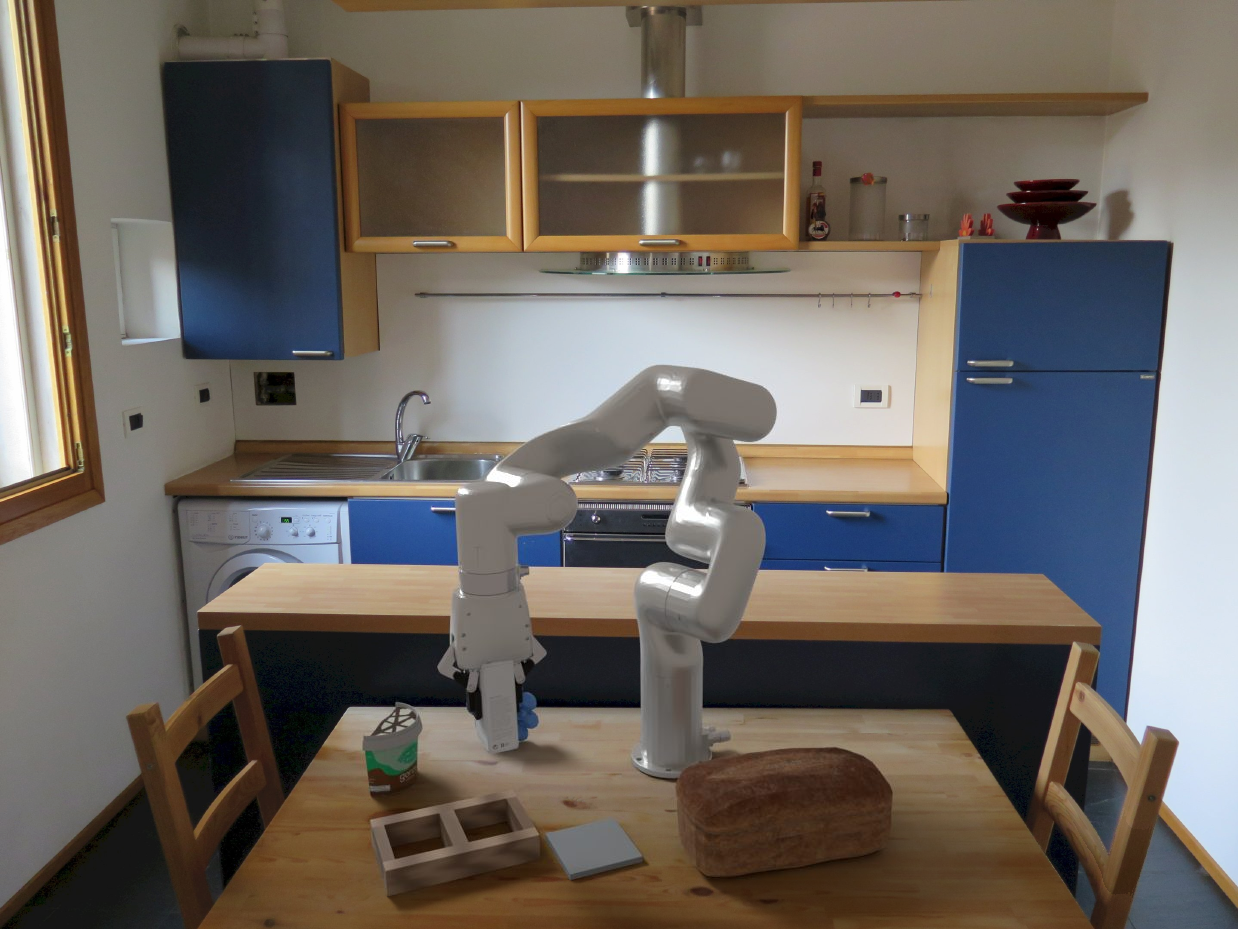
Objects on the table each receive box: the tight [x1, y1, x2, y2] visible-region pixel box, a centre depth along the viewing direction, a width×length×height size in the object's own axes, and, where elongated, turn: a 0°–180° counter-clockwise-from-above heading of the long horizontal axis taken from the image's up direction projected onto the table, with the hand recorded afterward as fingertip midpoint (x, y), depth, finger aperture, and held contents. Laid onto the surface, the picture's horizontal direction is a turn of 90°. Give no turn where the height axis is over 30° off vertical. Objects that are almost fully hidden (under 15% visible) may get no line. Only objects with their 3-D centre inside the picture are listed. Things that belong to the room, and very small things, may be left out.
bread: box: [674, 746, 894, 878], centre depth 132 cm, size 14×28×12 cm, turn 104°
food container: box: [362, 701, 423, 797], centre depth 150 cm, size 12×6×10 cm, turn 168°
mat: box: [544, 817, 644, 881], centre depth 133 cm, size 10×10×1 cm
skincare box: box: [474, 660, 520, 754], centre depth 130 cm, size 6×4×12 cm
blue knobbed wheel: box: [465, 685, 540, 742], centre depth 160 cm, size 12×7×12 cm, turn 90°
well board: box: [369, 789, 541, 897], centre depth 132 cm, size 20×12×4 cm, turn 112°
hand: (495, 710), depth 131 cm, fingers closed on skincare box, 4 cm apart
